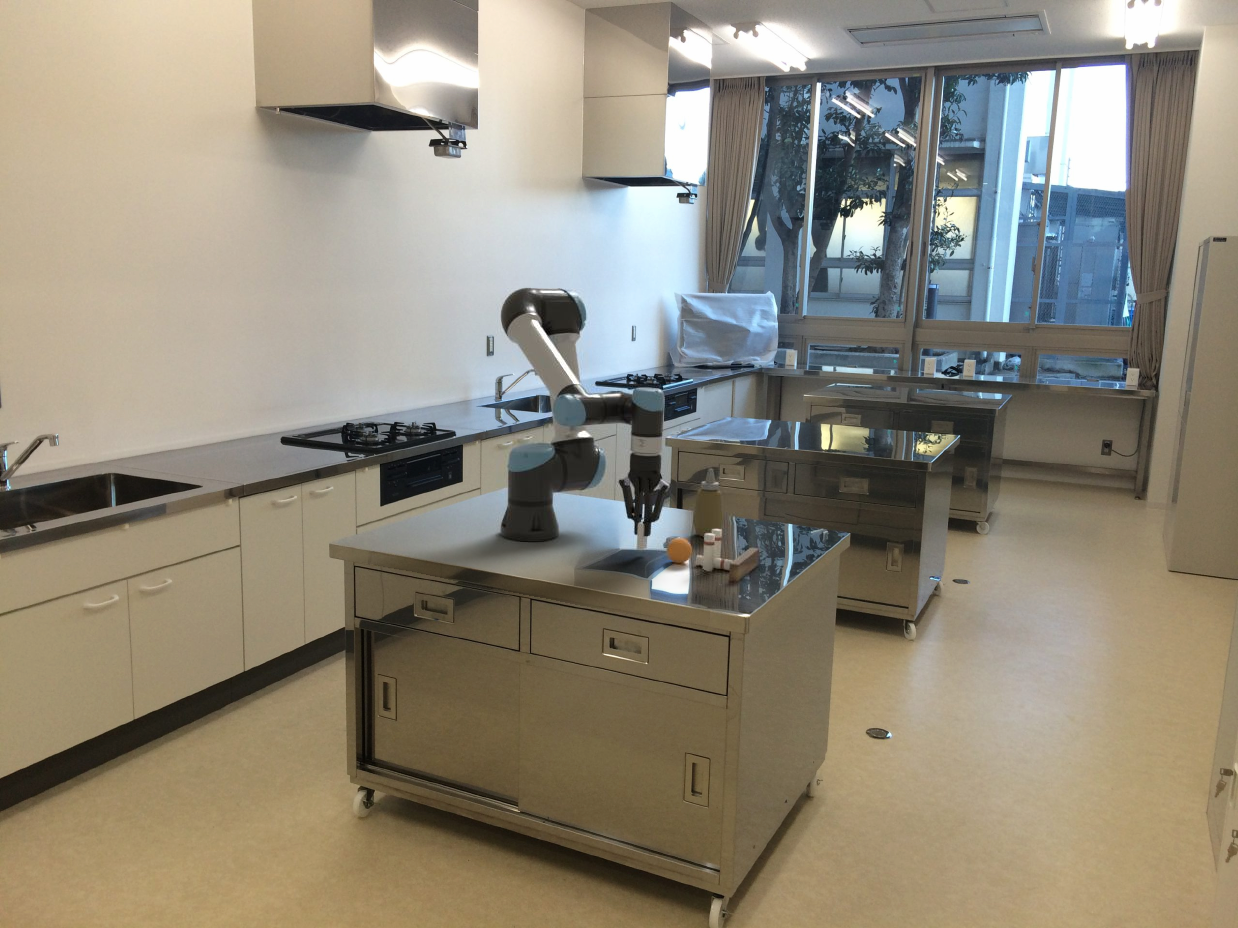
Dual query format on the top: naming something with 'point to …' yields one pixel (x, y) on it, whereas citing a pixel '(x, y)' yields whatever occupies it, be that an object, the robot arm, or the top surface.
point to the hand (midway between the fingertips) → (641, 548)
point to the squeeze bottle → (708, 506)
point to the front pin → (715, 562)
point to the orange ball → (679, 550)
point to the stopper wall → (743, 564)
